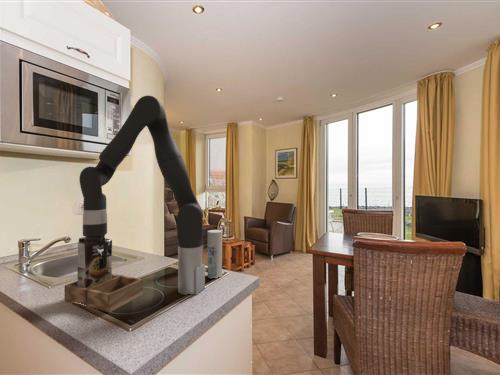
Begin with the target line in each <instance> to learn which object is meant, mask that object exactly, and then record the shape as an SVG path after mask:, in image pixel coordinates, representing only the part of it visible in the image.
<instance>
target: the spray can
mask: <svg viewBox="0 0 500 375" xmlns="http://www.w3.org/2000/svg"><path fill="white" fill-rule="evenodd" d="M222 266H223V230H222V229H211V230H207V277H208V278H209V279H212V278H216V279H219V278H218V277H220V278H222V276H223V267H222Z"/></svg>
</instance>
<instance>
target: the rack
mask: <svg viewBox="0 0 500 375" xmlns="http://www.w3.org/2000/svg"><path fill="white" fill-rule="evenodd" d="M143 294H144V278H138V277H135V276H126V275H121V274H116V273H112V279H110V280H108V281H105V282H103V283H101V284H98V285H96V286H93V287H91V288H89V289H87V288H82V287H78V286H77V280H76V281H73V282H70V283H68V284H67V283H66V284H65V285H64V302H66V303H69V304H73V302H77V303H81V304H84V305H86V306H89V307H88V308H90V307H93V308H92V309H94V308H96V309H95V310H98V309H99V311H103V312H106V313H112V312H113V311H115V310H117V309H118V308H120V307H122V306H124V305H126V304H128V303H129V302H132V301H133V300H134V299H137V298H139V297H140V296H142V295H143ZM86 306H85V307H86Z"/></svg>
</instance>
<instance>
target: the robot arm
mask: <svg viewBox="0 0 500 375" xmlns="http://www.w3.org/2000/svg"><path fill="white" fill-rule="evenodd" d="M146 127H147V129H148V131H149V134H150V136H151V139H152V142H153V146H154V154H155V159H156V163H157V165H158V168H159V170H160V173H161V175H162V177H163V179H164V181H165V182H166V184H167V186H168V187H169V189H170V191H171V192H172V194H173V196H174V198H175V202H176V205H177V207H178V212H177V215H176V232H177V234H176V235H177V236H176V238H177V246H178V247H177V251H178V252H177V292H178V293H179V294H181V295H184V296H186V295H187V294H191V295H198V294H199V293H201V292H202V291H203V290H204V289H206V288H205V287H206V273H205V272H206V264H205V263H204V262H203V260H204V257H203V256H204V255H203V254H204V253H203V252H204V250H203V249H204V247H203V246H204V236H203V231H204V230H203V221H204V220H203V218H204V212H203V209H202V207H201V205H200V203H199V202H198V200H197V197H196V195H195V193H194V190H193V188H192V184H191V180H190V177H189V174H188V173H189V172H188V170H187V167H186V164H185V162H184V158H183V156H182V154H181V152H180V149H179V147H178V145H177V142H176V141H175V140H174V137H173V134H172V132H171V130H170V126H169V122H168V118H167V115H166V111H165V108H164V106H163V105H162V103H161V102H160V100H159V99H158V98H156V97H155V96H153V95H144V96H142V97H140V98H139V99H138V100H137V101H136V102H135V104H134V106H133V108H132V109H131V111H130V114H129V115H128V116H127V118H126V120H125V121H124V123H123V124H122V126H121V128H120V129H119V130H118V132H117V133H116V134H115V136H114V137H113V138H112V140H110V142H109V143H108V144H107V145H106V146H105V147H104V149H103V150H102V151H101V153H100V154H99V156H98V159H99V162H98V163H97V164H96V166H87V167H85V168H83V169H82V170H81V172H80V174H79V186H80V191H81V193H82V196H83V213H82V236H83V237H79V238H78V242H82V241H87V242H89V241H93V242H98V244H99V246H101V244H102V243H103V249H102V250H99V249H98V248H97V253H98V255H99V258H100V259H99V268H100V269H104V268H106V266H107V257H109V256H111V255H112V256H113V239H111V240H106V239H107V238H106V237H105V236H106V235H107V234H108V214H107V196H106V194H104V193H103V190H102V187H103V186H105V185H106V184H108V183H109V181H110V180H111V179H112V178H113V176H114V174H115V172H116V170H117V169H118V166H119V165H121V163H122V162H123V161H124V160H125V158H126V157H127V156H128V155H129V153H130V152H131V151H132V148H133V147H134V145H135V143H136V140H137V139H138V137H139V135H140V133H141V132H142V131H143V130H144V129H145V128H146ZM107 251H108V253H107ZM101 252H103V255H102V253H101Z"/></svg>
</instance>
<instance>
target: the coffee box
mask: <svg viewBox="0 0 500 375" xmlns="http://www.w3.org/2000/svg"><path fill="white" fill-rule="evenodd" d="M105 239H106V240H112V239H110V238H105ZM97 248H98V249H99V250H102V249H103V243H102V244H101V246H99V244H98V242H93V241H89V242H87V241H82V242H79V241H78V242H77V280H76V281H77V286H78V287H82V288H87V289H89V288H91V287H93V286H96V285H98V284H101V283H103V282H105V281H108V280H110V279H112V274H113V269H112V268H113V267H112V266H113V265H112V264H113V262H112V260H113V254H112V255H111V256H109V257H107V266H106V268H104V269H100V268H99V259H100V258H99V255H98V253H97ZM101 253H102V255H103V252H101ZM107 253H108V251H107Z"/></svg>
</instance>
